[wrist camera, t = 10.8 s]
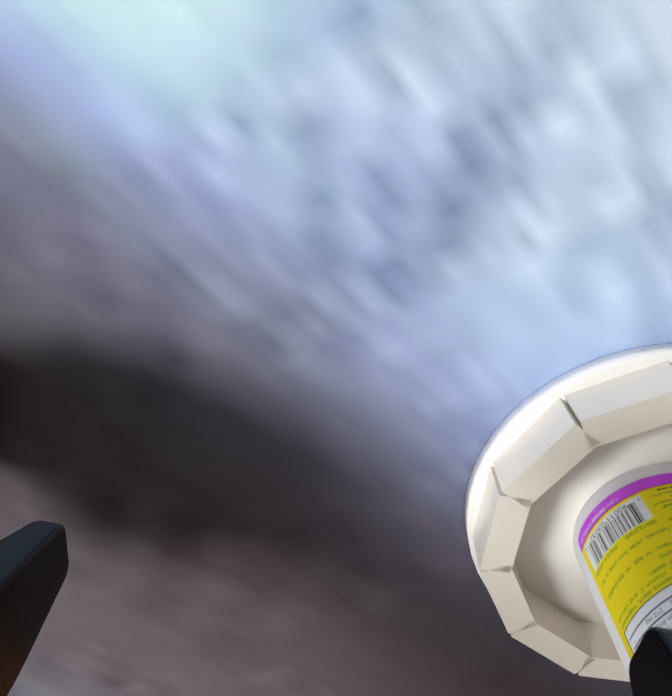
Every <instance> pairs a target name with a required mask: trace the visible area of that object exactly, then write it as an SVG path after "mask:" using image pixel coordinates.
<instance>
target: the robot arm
mask: <svg viewBox="0 0 672 696" xmlns="http://www.w3.org/2000/svg"><path fill="white" fill-rule="evenodd" d="M68 564H69V561H68V551H67V541H66V532H65V528H64V527H63V526H62V525H61V524H57V523H51V522H46V521H35V522H32V523H30V524H29V525H27V526H25V527H23V528H22V529H20V530H18V531H16V532H15V533H13V534H11V535H9V536H8V537H6V538H4V539H2V540H1V541H0V696H7V695H8V693H9V691H10V689H11V688H12V686H13V684H14V682H15V681H16V679H17V677H18V675H19V673H20V671H21V669H22V667H23V665H24V663H25V661H26V659H27V657H28V655H29V653H30V651H31V649H32V647H33V645H34V642H35V640H36V638H37V636H38V634H39V632H40V630H41V628H42V626H43V624H44V622H45V619H46V617H47V615H48V613H49V611H50V609H51V607H52V605H53V603H54V601H55V598H56V596H57V594H58V592H59V590H60V588H61V586H62V584H63V582H64V580H65V577H66V574H67V571H68ZM629 678H630V683H631V688H632V693H633V696H672V629H667V628H661V627H651V628H649V629H648V630H647V631H646V633H645V634H644V636H643V638H642V640H641V642H640V644H639V645H638V647H637V649H636V651H635V653H634V654H633V656H632V658H631V661H630V664H629Z"/></svg>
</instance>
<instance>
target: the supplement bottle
mask: <svg viewBox="0 0 672 696" xmlns="http://www.w3.org/2000/svg"><path fill="white" fill-rule="evenodd" d="M573 547H574V552H575V556H576V559H577V561H578V564H579V566H580V569H581V571H582V573H583V576H584V578H585V580H586V582H587V585H588V587H589V589H590V591H591V594H592V596H593V598H594V600H595V602H596V605H597V607H598V609H599V611H600V614H601V616H602V618H603V620H604V623H605V625H606V627H607V629H608V632H609V634H610V636H611V638H612V641H613V643H614V645H615V647H616V650H617V652H618V654H619V656H620V659H621V661H622V663H623V665H624V668H625V670H626V672H627V674H628V676H629V664H630V661H631V658H632V656H633V654H634V653H635V651H636V649H637V647H638V645H639V644H640V642H641V640H642V638H643V636H644V634H645V633H646V631H647V630H648V629H649V628H651V627H661V628H667V629H672V463H658V464H653V465H648V466H644V467H640V468H637V469H634V470H631V471H628V472H626V473H624V474H621V475H619V476H617V477H615V478H613V479H612V480H610V481H608V482H607V483H605V484H604V485H603V486H601V487H600V488H599V489H598V490H597V491H596V492H595V493H594V494H593V495H592V496H591V497H590V498H589V499H588V500H587V502H586V503H585V504H584V506H583V507H582V509H581V511H580V513H579V515H578V517H577V519H576V523H575V526H574V532H573ZM629 679H630V678H629Z"/></svg>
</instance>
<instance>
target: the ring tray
mask: <svg viewBox="0 0 672 696" xmlns="http://www.w3.org/2000/svg"><path fill="white" fill-rule="evenodd" d="M658 463H672V343H666V344H654V345H649V346H643V347H638V348H632V349H627V350H624V351H620V352H617V353H613V354H610V355H606V356H603V357H600V358H598V359H595V360H593V361H590V362H588V363H585V364H583V365H580V366H578V367H576V368H574V369H572V370H570V371H568V372H566V373H564V374H562V375H561V376H559V377H557V378H555V379H553V380H551V381H550V382H548V383H547V384H546V385H544V386H543V387H541V388H540V389H538V390H537V391H535V392H534V393H533V394H531V395H530V396H529V397H527V398H526V399H525V400H524V401H523V402H522V403H521V404H519V405H518V406H517V407H516V408H515V409H514V410H513V411H512V412H511V413H510V414H509V415H508V416H507V417H506V418H505V419H504V420H503V421H502V423H501V424H500V425H499V426H498V427H497V428H496V429H495V431H494V432H493V434H492V435H491V437H490V438H489V440H488V441H487V442H486V444H485V445H484V447H483V448H482V450H481V453H480V455H479V457H478V459H477V461H476V463H475V465H474V467H473V470H472V473H471V476H470V479H469V482H468V485H467V492H466V498H465V525H466V531H467V536H468V541H469V546H470V551H471V556H472V558H473V561H474V564H475V567H476V569H477V572H478V574H479V576H480V577H481V579H482V581H483V582H484V584H485V586H486V588H487V589H488V591H489V593H490V595H491V597H492V600H493V602H494V604H495V606H496V608H497V610H498V612H499V615H500V617H501V619H502V621H503V623H504V625H505V627H506V629H507V632H508V634H511V637H513V638H514V639H516V640H518V641H519V642H521V643H523V644H525V645H526V646H528V647H530V648H531V649H533V650H535V651H536V652H538V653H540V654H541V655H543V656H545V657H546V658H548V659H550V660H551V661H553V662H555V663H556V664H558V665H560V666H561V667H563V668H565V669H566V670H568V671H570V672H572V673H573V674H576V673H577V672H578V675H579V676H585V677H593V678H602V679H610V680H618V681H626V682H630V679H629V676H628V674H627V672H626V670H625V668H624V665H623V663H622V661H621V659H620V656H619V654H618V652H617V650H616V647H615V645H614V643H613V641H612V638H611V636H610V634H609V632H608V629H607V627H606V625H605V623H604V620H603V618H602V616H601V614H600V611H599V609H598V607H597V605H596V602H595V600H594V598H593V596H592V594H591V591H590V589H589V587H588V585H587V582H586V580H585V578H584V576H583V573H582V571H581V569H580V566H579V564H578V561H577V559H576V556H575V552H574V547H573V532H574V526H575V523H576V519H577V517H578V515H579V513H580V511H581V509H582V507H583V506H584V504H585V503H586V502H587V500H588V499H589V498H590V497H591V496H592V495H593V494H594V493H595V492H596V491H597V490H598V489H599V488H600V487H601V486H603V485H604V484H605V483H607V482H608V481H610V480H612V479H613V478H615V477H617V476H619V475H621V474H624V473H626V472H628V471H631V470H634V469H637V468H640V467H644V466H648V465H653V464H658Z"/></svg>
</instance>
